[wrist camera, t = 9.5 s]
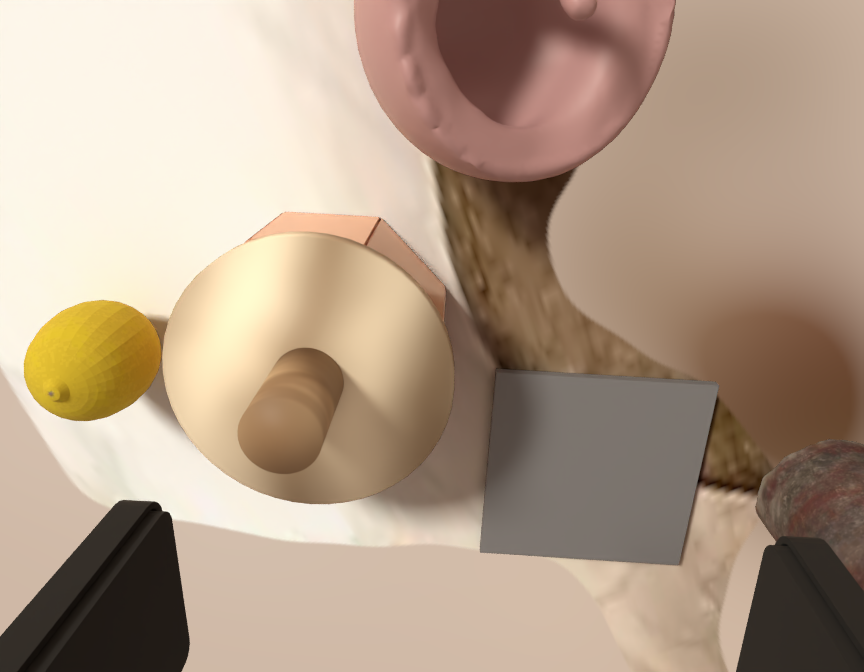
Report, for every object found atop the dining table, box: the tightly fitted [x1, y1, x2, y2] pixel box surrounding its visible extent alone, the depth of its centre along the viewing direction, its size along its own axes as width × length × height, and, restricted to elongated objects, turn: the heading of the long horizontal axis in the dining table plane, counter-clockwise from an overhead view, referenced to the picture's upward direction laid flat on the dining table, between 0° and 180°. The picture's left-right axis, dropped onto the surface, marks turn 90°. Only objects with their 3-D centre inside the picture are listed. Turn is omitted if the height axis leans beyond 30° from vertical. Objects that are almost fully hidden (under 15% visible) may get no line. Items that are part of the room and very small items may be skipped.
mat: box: [480, 369, 719, 565], centre depth 39 cm, size 12×12×1 cm
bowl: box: [245, 212, 446, 322], centre depth 33 cm, size 12×12×6 cm
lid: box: [162, 232, 454, 504], centre depth 28 cm, size 13×13×6 cm
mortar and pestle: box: [354, 0, 676, 182], centre depth 25 cm, size 12×12×12 cm
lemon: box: [24, 300, 161, 421], centre depth 33 cm, size 6×6×8 cm
